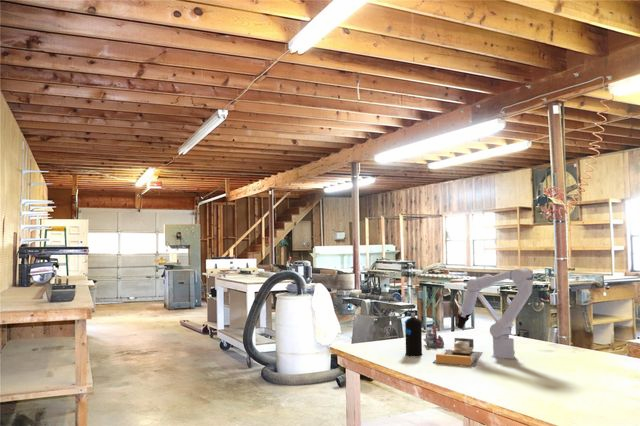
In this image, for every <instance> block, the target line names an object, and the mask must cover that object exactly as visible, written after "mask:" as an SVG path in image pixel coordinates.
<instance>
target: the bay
mask: <svg viewBox="0 0 640 426" xmlns="http://www.w3.org/2000/svg"><path fill="white" fill-rule="evenodd" d="M447 349H448V348H447ZM447 349H445V350H442V352H441V353H436V354H435V360H433V362H432V364H438V363H439V364H441V365H449V364H452V365H451V366H460V365H463V367H471V366H472V367H473V368H474V367H476V365H477V363H478V361H479V359H480V358H481V357H482V354H483V353H484V352H483V351H472V352H471V353H470V355H469V356H468V355H467V353H456V352H454V353H455V354H452V352H451V349H448V350H447Z"/></svg>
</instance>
